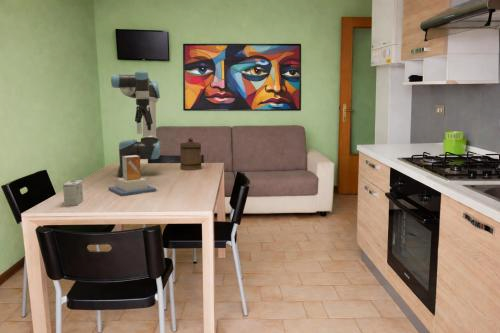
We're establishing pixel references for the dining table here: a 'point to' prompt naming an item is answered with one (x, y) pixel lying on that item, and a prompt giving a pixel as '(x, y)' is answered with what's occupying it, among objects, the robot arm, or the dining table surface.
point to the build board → (124, 193)
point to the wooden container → (190, 155)
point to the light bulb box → (73, 192)
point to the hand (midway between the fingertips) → (144, 134)
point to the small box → (131, 167)
